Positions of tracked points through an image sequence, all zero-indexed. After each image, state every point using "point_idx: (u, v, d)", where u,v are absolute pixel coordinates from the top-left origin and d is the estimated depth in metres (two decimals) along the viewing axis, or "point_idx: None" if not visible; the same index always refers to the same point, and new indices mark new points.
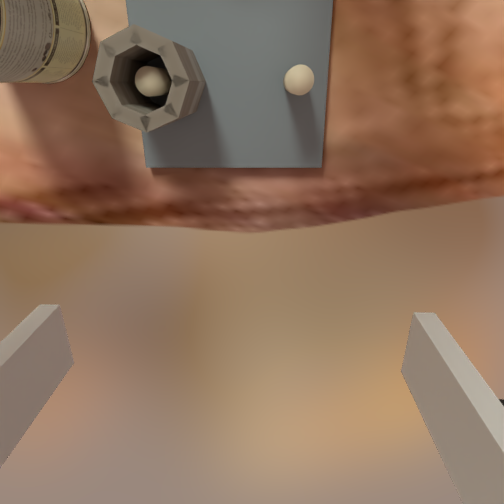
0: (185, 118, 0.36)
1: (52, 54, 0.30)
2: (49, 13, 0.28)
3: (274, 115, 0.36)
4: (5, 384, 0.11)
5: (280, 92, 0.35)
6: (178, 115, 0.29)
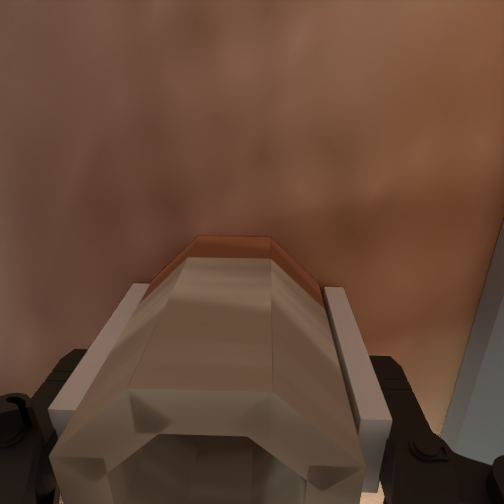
0: None
1: None
2: None
3: None
4: None
5: None
6: None
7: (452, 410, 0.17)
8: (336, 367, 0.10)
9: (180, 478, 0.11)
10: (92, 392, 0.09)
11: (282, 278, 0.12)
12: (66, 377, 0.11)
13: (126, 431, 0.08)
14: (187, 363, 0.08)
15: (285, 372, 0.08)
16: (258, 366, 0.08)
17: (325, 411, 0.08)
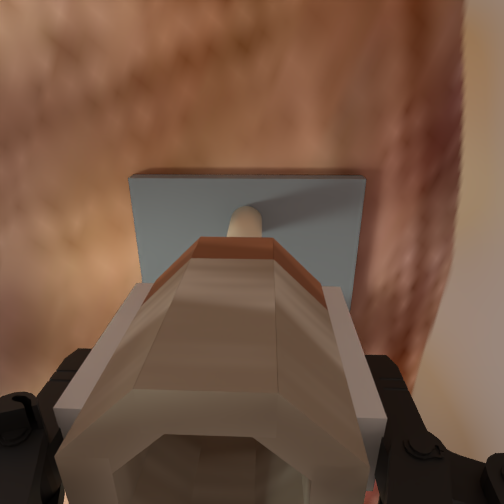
0: None
1: None
2: None
3: (288, 245, 0.27)
4: None
5: None
6: None
7: None
8: (339, 368, 0.10)
9: (184, 478, 0.11)
10: (97, 392, 0.09)
11: (285, 279, 0.12)
12: (70, 376, 0.11)
13: (131, 431, 0.08)
14: (192, 364, 0.08)
15: (290, 373, 0.08)
16: (263, 367, 0.08)
17: (329, 411, 0.08)
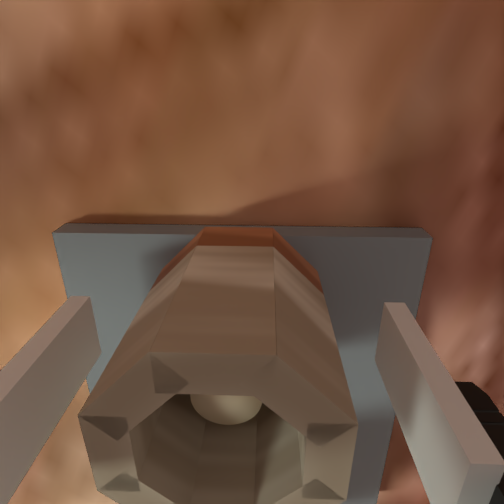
0: None
1: None
2: None
3: None
4: (45, 369, 0.11)
5: None
6: None
7: None
8: (333, 343, 0.11)
9: (191, 446, 0.12)
10: (113, 362, 0.10)
11: (284, 264, 0.13)
12: None
13: (147, 392, 0.09)
14: (200, 332, 0.09)
15: (287, 341, 0.09)
16: (263, 335, 0.09)
17: (322, 376, 0.09)
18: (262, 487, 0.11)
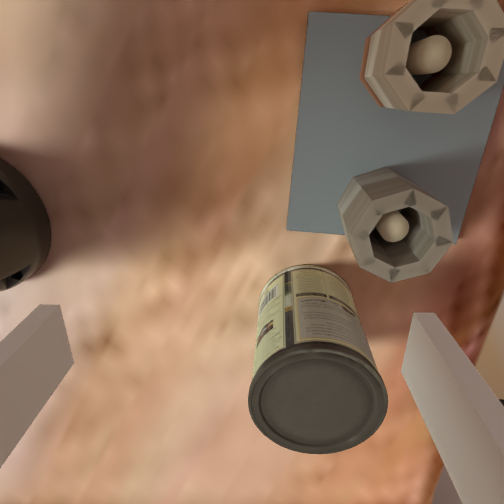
0: None
1: (348, 306, 0.33)
2: (321, 300, 0.32)
3: None
4: (4, 383, 0.11)
5: None
6: (445, 205, 0.26)
7: None
8: None
9: None
10: (395, 18, 0.23)
11: None
12: None
13: (428, 7, 0.21)
14: None
15: None
16: None
17: None
18: (452, 88, 0.24)
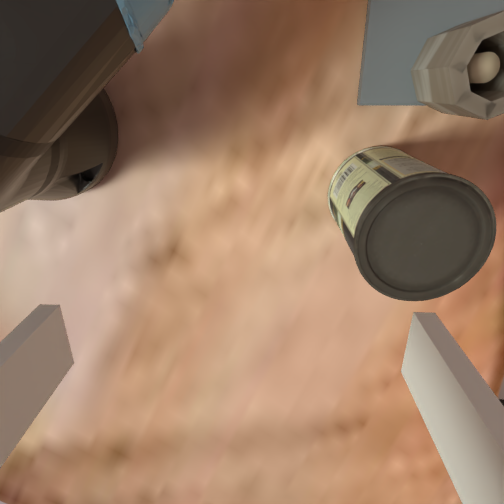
0: None
1: None
2: (408, 158, 0.32)
3: None
4: (5, 383, 0.11)
5: None
6: None
7: (362, 59, 0.35)
8: None
9: None
10: None
11: None
12: None
13: None
14: None
15: None
16: None
17: None
18: None
